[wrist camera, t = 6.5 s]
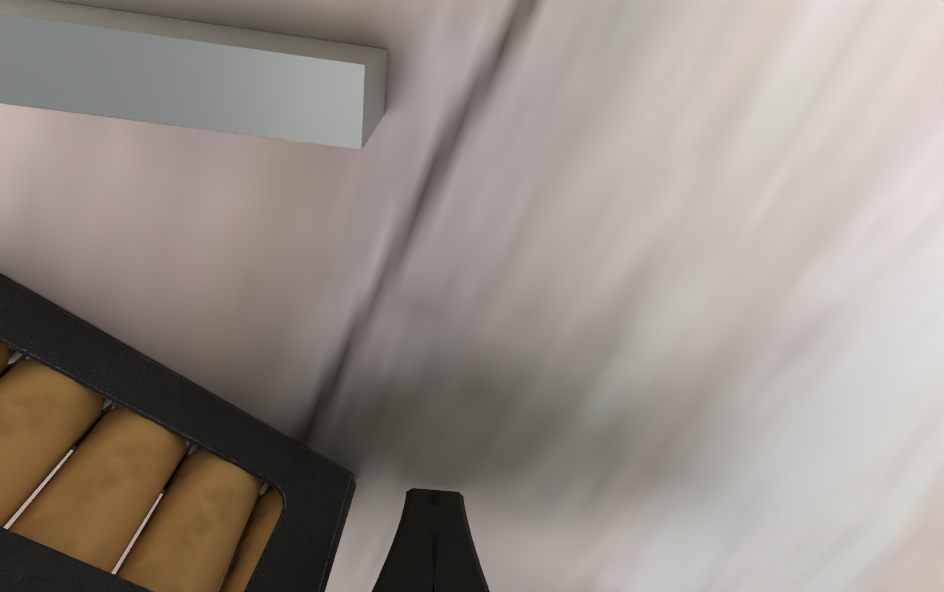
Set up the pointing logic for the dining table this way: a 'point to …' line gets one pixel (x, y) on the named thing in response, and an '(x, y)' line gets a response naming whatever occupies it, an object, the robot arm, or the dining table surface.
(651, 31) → the dining table surface
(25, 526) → the ammunition clip
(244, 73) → the frame
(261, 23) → the dining table surface
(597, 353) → the dining table surface
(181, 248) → the dining table surface
